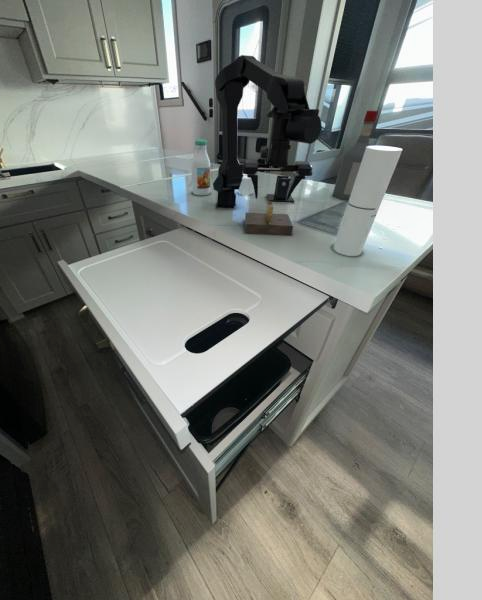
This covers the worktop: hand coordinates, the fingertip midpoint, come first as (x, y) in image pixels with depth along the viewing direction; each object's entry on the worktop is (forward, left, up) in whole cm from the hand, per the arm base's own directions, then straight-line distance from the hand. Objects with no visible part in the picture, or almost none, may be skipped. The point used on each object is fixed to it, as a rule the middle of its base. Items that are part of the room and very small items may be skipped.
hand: (271, 198), depth 80 cm
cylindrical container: (+21, -13, -9) cm, 27 cm away
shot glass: (-6, +37, -9) cm, 38 cm away
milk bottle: (-25, +36, -9) cm, 45 cm away
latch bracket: (+8, +30, -9) cm, 32 cm away
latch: (+13, +30, -2) cm, 32 cm away
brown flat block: (0, 0, -9) cm, 9 cm away
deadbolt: (0, 0, -6) cm, 6 cm away
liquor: (+36, +36, -9) cm, 51 cm away
